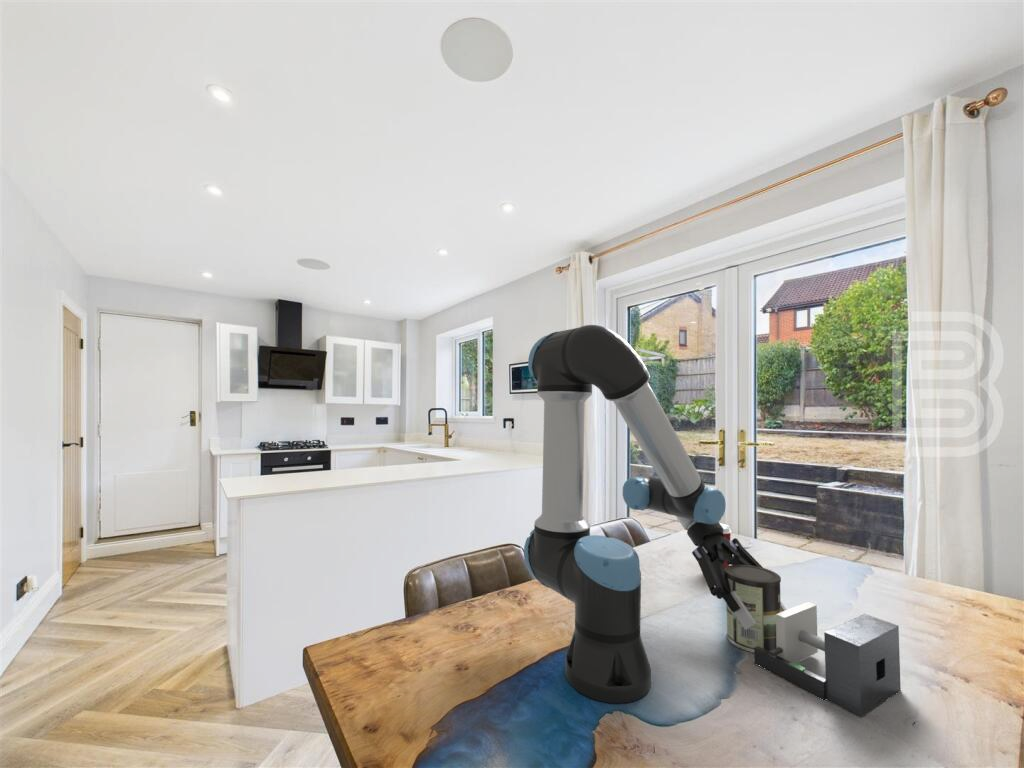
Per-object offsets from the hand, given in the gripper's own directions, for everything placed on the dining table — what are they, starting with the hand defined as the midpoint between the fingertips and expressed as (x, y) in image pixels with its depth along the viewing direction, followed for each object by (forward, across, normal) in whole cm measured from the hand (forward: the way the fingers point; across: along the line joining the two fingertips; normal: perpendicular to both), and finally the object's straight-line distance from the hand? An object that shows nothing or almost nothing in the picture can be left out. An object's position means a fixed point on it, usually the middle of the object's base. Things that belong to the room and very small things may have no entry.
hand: (767, 620), depth 90 cm
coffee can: (+2, 0, -6) cm, 6 cm away
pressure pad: (+11, +1, +4) cm, 12 cm away
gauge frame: (+12, 0, +4) cm, 12 cm away
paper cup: (-18, -27, -26) cm, 42 cm away
